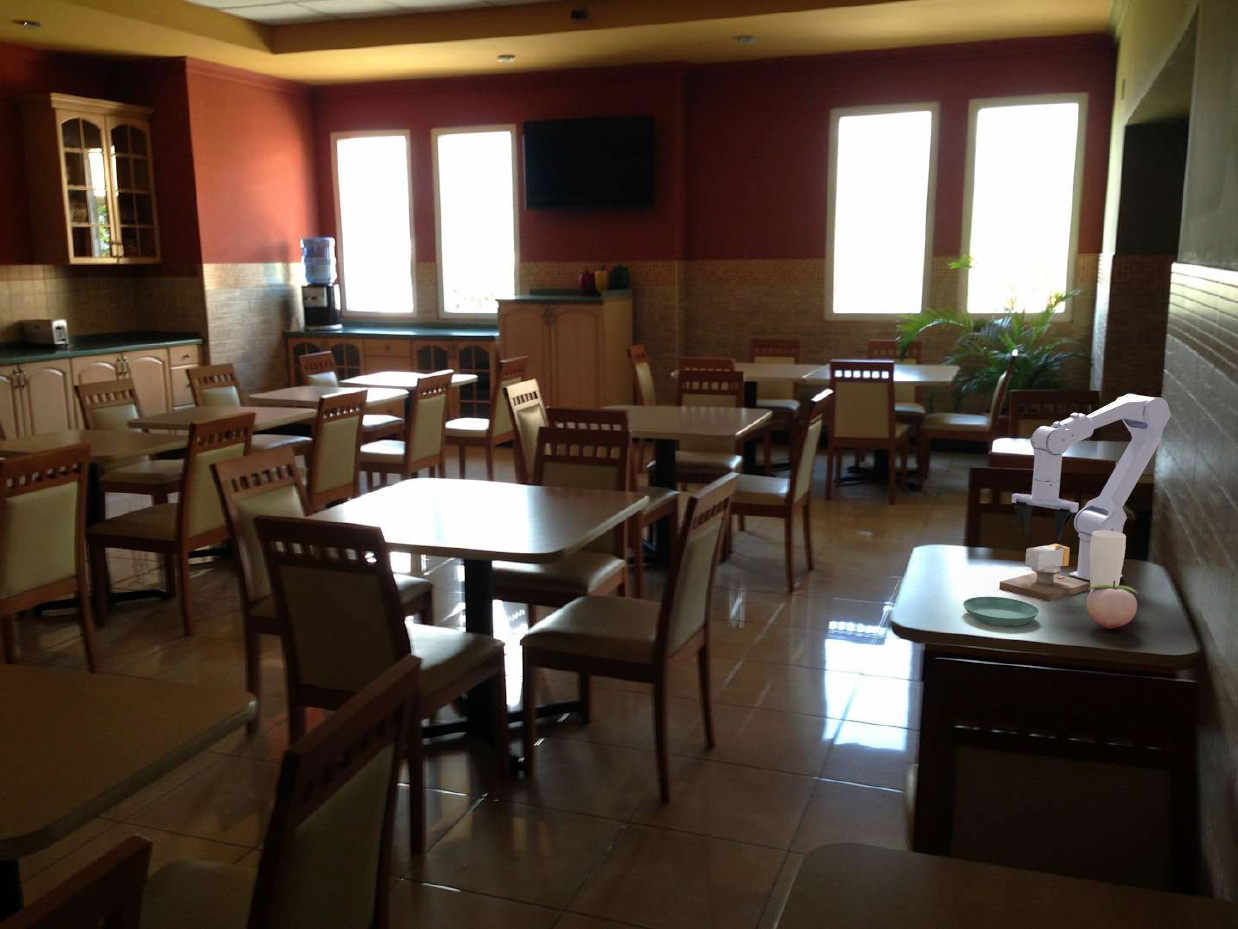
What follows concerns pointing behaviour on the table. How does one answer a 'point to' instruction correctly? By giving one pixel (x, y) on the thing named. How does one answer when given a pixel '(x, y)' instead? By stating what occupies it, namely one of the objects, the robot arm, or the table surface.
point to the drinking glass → (1106, 557)
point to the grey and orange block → (1047, 558)
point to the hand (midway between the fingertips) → (1041, 537)
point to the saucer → (1000, 611)
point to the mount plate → (1044, 586)
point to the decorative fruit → (1111, 604)
